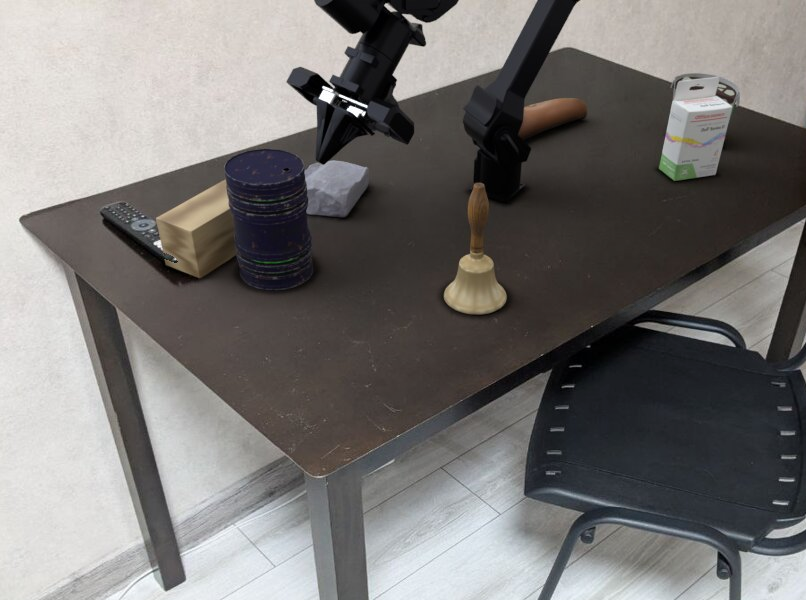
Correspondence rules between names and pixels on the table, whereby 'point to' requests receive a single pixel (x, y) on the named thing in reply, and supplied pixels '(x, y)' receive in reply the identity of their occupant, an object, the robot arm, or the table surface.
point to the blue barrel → (270, 218)
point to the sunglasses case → (550, 115)
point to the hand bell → (476, 266)
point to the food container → (724, 90)
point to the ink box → (695, 130)
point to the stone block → (334, 187)
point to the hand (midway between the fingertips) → (319, 162)
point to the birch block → (199, 232)
